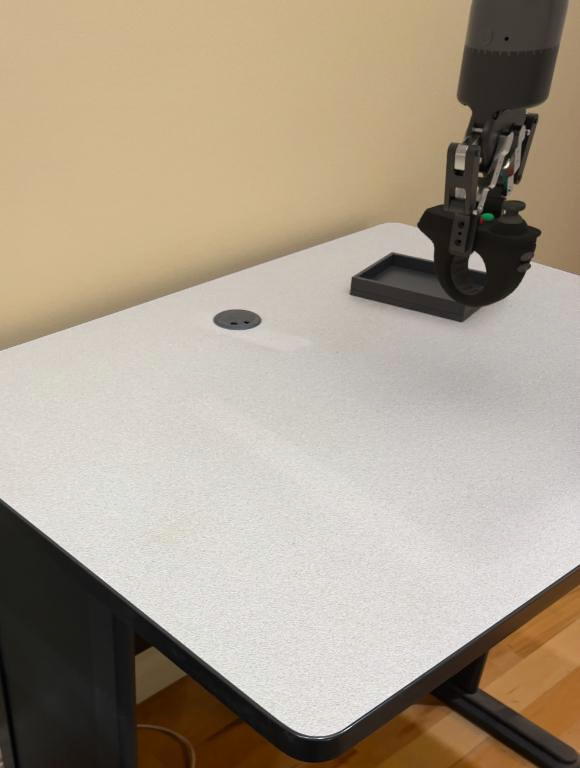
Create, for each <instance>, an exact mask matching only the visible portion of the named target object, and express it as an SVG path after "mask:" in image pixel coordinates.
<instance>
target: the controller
mask: <svg viewBox="0 0 580 768" xmlns="http://www.w3.org/2000/svg"><path fill="white" fill-rule="evenodd" d="M526 207H527V204H526V203H525V201H522V200H518V199H509V200H506V201H504V202H503V203H502V205H501V208H502V209H503V210H504V211H505V212H504V214H503V215H502V216H500V217H498V218H496V217H494V216H493V215H492V214H490V213H485V214H482V213H481V214H480V215H481V218H480V223H479V229H478V234H477V239H476V244H475V250H474V253H476V254H477V255H479V256H480V258H481V259H482V262H483V264H484V267H485V272H486V282H485V284H484V287H483V288H482V289H481V288H479V287H478V286H477V285H475V283H474V282H473V281H472V279H471V277H470V274H469V269H470V268H469V262H470V257H471V255H470V256H468V257H462V256H457V255H452V254H450V252H449V244H450V238H451V232H452V226H453V221H454V215H455V213H454V212H452V211H447V210H444V203H441V204H437V205H434V206H430V207H428V208H426V209H425V210H424V211H423V213H422V215H421V216H420V218H419V219H418V221H417V223H416V227H417V228H418V230H419V231H420V232H421V233H422V234H423V235H424V236H426V237H427V238H428V239H429V240H430V242H431V243H432V244H433V261H434V268H435V273H436V276H437V279H438V281H439V283H440V285H441V287H442V288H443V290H444V291H445V292H446V293H447V295H448V296H449V297H451V298H452V299H453V300H454V301H456V302H458V303H460V304H462V305H465V306H469V307H481V308H482V307H487V306H491V305H493V304H495V303H498V302H500V301H503V300H504V299H506V298H508V297H509V296H510V295H511V294H512V293H514V291H516V290H517V288H518V287H519V286H520V285H521V283H522V281H523V280H524V277H525V275H526V273H527V271H528V270H530V269H531V268H532V264H531V261H532V259H533V258H534V256H535V251H536V249H537V241H538V237H540V236H541V235H542V231H541V229H540V228H537V227H535V226H533V225H532V226H531V225H529V224H528V223H527V221H526V219H524V218H523V217H522V216H521V214H520V213H519V212H522V211H525V209H526ZM468 268H469V269H468Z"/></svg>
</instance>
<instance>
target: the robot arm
mask: <svg viewBox="0 0 580 768" xmlns="http://www.w3.org/2000/svg"><path fill="white" fill-rule="evenodd" d="M569 3H570V0H471V5H470V8H469V14H468V21H467V26H466V27H467V28H466V33H465V38H464V39H465V40H464V45H463V52H462V59H461V64H460V69H459V70H460V71H459V76H458V83H457V89H456V99H457V101H458V103H460V105H462V106H465V107H467V108H469V109H470V111H471V115H470V118H469V121H468V125H467V128H466V130H465V131H464V132H465V133H464V136H463V139H462V142H454V141H451V142H449V145H448V147H447V150H446V164H445V178H444V193H443V195H444V196H443V204H444V210H447V211H452V212H454V213H455V215H454V221H453V226H452V232H451V238H450V244H449V252H450V254H452V255H457V256H462V257H468V256H470V257H471V256H472V255H473V254H474V253H475V251H474V250H475V244H476V239H477V234H478V229H479V223H480V218H481V215H480V214H481V213H482V214H485V213H490V214H492V215H493V216H494V217H496V218H498V217H500V216H502V215H503V214H505V210H503V209H502V208H501V205H502V203H503V202H504V201H508V200H507V198H509V197H510V196H511V194H512V193H513V190H514V185H516V186H517V185H519V184H520V183H521V181H522V179H523V175H524V171H525V167H526V164H527V162H528V161H527V160H528V157H529V153H530V151H531V146H532V143H533V139H534V136H535V132H536V129H537V125H538V123H539V117H540V116H539V115H540V114H539V113H536V112H529V111H527V110H529V109H533V108H536V107H538V106H541V105H543V104H545V102H546V101H547V100H548V98H549V96H550V92H551V87H552V82H553V78H554V73H555V68H556V64H557V60H558V56H559V51H560V47H561V42H562V36H563V33H564V27H565V24H566V19H567V14H568V9H569ZM479 173H480V174H482V176H479Z"/></svg>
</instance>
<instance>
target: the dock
mask: <svg viewBox="0 0 580 768" xmlns="http://www.w3.org/2000/svg"><path fill="white" fill-rule="evenodd" d="M468 269H469V274H470V277H471V279H472V281H473V282H474V283H475V285H477V286H478V287H479V288H481V289H482V288H483V287H484V284H485V282H486V271H484V270H478V269H473V268H469V267H468ZM349 295H352V296H355V297H360V298H364V299H367V300H372V301H376V302H380V303H384V304H389V305H392V306H396V307H401V308H403V309H408V310H413V311H416V312H420V313H424V314H428V315H432V316H437V317H441V318H444V319H449V320H453V321H457V322H461V323H463V322H464V321H465V320H466V319H467V320H468V318H470V316H472V315H473V314H474V313H476V312H477V311H478V310H480V309H481V308H482V307H469V306H465V305H462V304H460V303H458V302H456V301H454V300H453V299H452V298H451V297H449V296H448V295H447V293H446V292H445V291H444V290H443V288H442V287H441V285H440V283H439V281H438V279H437V276H436V273H435V268H434V260H431V259H426V258H422V257H417V256H412V255H409V254H403V253H398V252H394V251H391V252H389V253H388V254H386V255H384V256H382V257H381V258H379V260H377V261H375V262H373V263H371V264H370V265H369V266H367V267H365V268H364V269H362V270H360V271H359V272H357V273H355V274H354V275H353V276H351V280H350V290H349Z"/></svg>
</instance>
